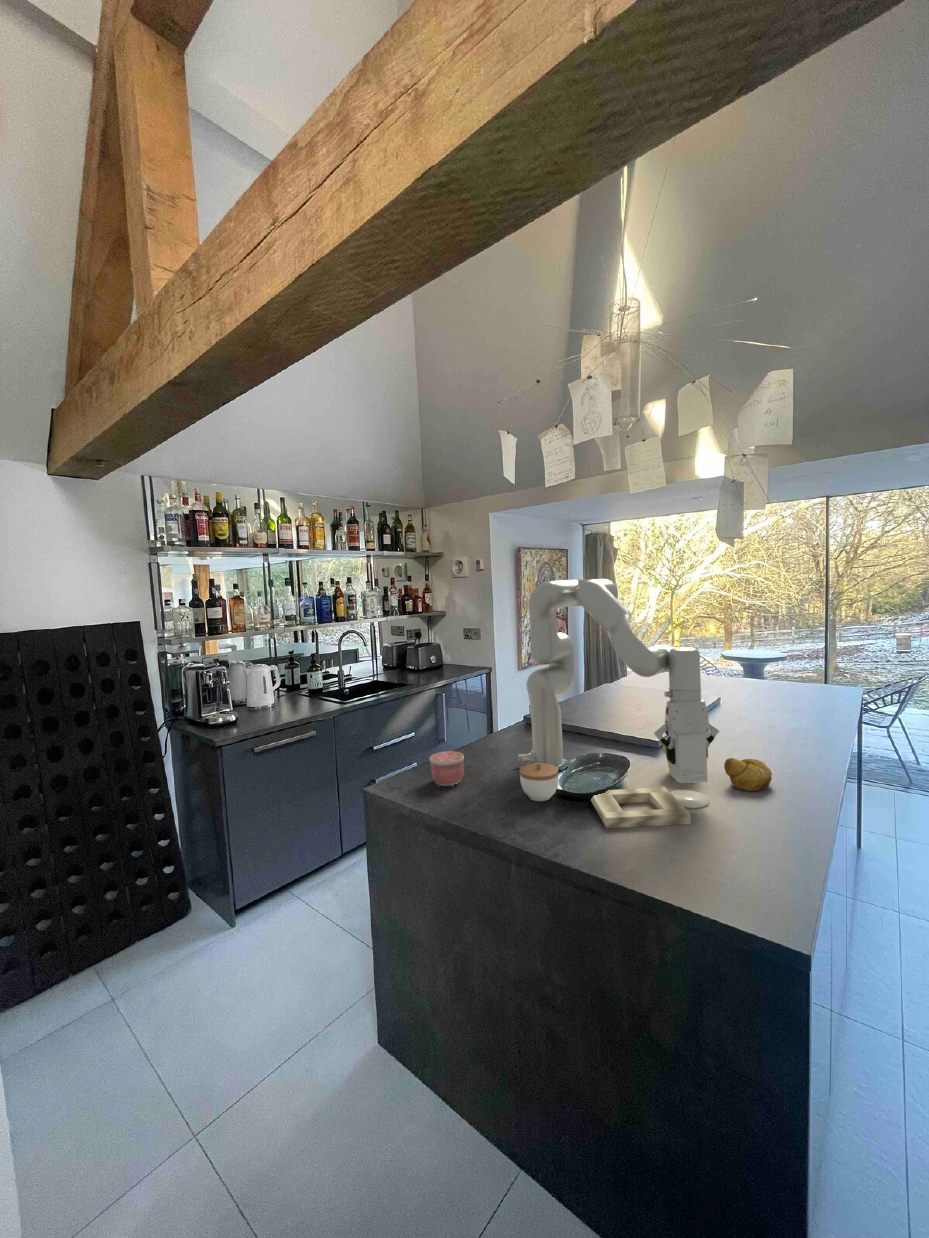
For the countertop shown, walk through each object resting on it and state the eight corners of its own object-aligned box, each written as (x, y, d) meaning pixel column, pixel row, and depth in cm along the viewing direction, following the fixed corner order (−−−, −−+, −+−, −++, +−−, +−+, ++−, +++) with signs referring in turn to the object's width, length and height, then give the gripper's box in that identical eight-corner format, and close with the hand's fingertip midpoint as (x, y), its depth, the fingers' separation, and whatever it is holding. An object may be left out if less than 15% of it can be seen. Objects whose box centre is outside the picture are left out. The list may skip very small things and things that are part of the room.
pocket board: (606, 828, 123) (606, 817, 123) (590, 800, 139) (589, 790, 139) (690, 823, 123) (690, 813, 122) (664, 796, 139) (664, 787, 138)
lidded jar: (561, 789, 147) (559, 757, 146) (557, 806, 136) (556, 771, 136) (523, 787, 149) (522, 756, 149) (517, 803, 139) (515, 769, 138)
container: (458, 790, 150) (457, 763, 150) (425, 787, 154) (423, 761, 153) (469, 776, 160) (468, 751, 160) (438, 774, 164) (437, 750, 163)
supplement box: (708, 782, 131) (707, 733, 130) (679, 783, 131) (677, 735, 131) (696, 771, 139) (694, 725, 138) (668, 773, 139) (666, 727, 138)
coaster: (676, 809, 131) (676, 806, 131) (661, 793, 141) (661, 790, 141) (716, 807, 130) (716, 804, 130) (698, 791, 140) (698, 789, 140)
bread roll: (750, 775, 150) (749, 748, 149) (783, 786, 141) (783, 757, 140) (720, 785, 144) (720, 757, 143) (754, 797, 135) (753, 767, 135)
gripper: (656, 700, 130) (659, 768, 131) (726, 696, 130) (727, 764, 131) (646, 693, 137) (648, 758, 139) (711, 690, 137) (713, 754, 138)
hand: (687, 761), depth 135 cm, fingers closed on supplement box, 7 cm apart
